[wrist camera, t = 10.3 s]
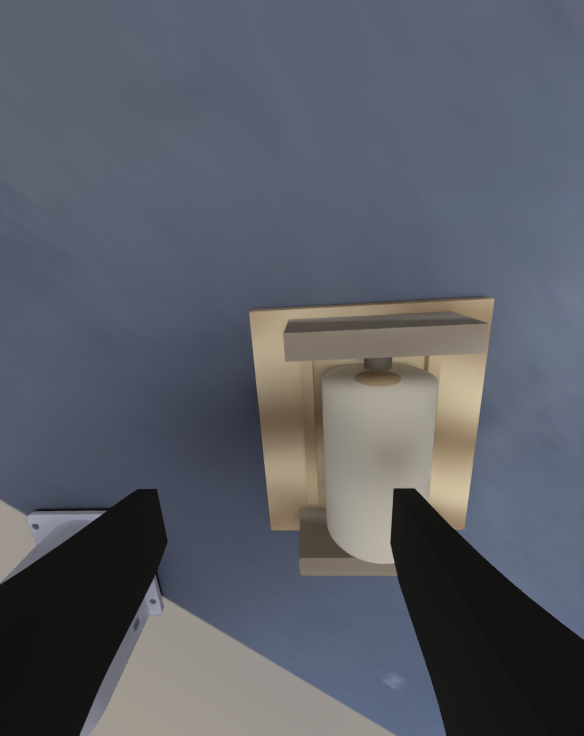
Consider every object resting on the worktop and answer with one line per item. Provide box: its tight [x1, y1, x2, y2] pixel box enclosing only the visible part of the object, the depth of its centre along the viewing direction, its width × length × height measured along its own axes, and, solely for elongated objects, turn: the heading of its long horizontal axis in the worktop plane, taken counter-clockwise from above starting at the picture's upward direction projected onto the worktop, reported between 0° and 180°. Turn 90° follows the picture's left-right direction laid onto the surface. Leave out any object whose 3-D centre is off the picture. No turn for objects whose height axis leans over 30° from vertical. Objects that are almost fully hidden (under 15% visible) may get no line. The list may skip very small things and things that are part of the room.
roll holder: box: [249, 297, 494, 576], centre depth 17 cm, size 14×12×4 cm
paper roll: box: [322, 363, 439, 564], centre depth 15 cm, size 8×5×5 cm, turn 3°
